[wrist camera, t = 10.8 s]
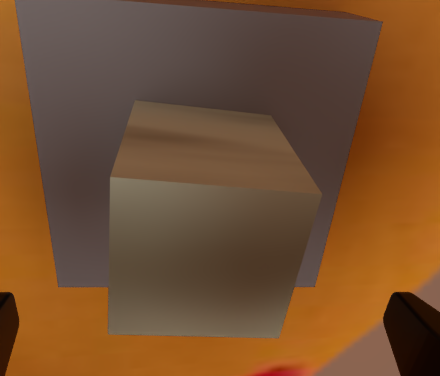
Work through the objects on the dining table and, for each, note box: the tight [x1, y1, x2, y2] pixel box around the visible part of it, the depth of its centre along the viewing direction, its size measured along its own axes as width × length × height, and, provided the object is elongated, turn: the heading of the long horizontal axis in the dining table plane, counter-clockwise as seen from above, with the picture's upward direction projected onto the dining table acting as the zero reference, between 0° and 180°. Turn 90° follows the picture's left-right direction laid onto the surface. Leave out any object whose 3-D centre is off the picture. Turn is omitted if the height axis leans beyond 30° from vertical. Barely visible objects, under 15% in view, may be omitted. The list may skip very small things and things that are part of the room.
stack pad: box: [15, 0, 383, 287], centre depth 17 cm, size 12×12×4 cm
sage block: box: [108, 100, 322, 338], centre depth 13 cm, size 5×5×6 cm
